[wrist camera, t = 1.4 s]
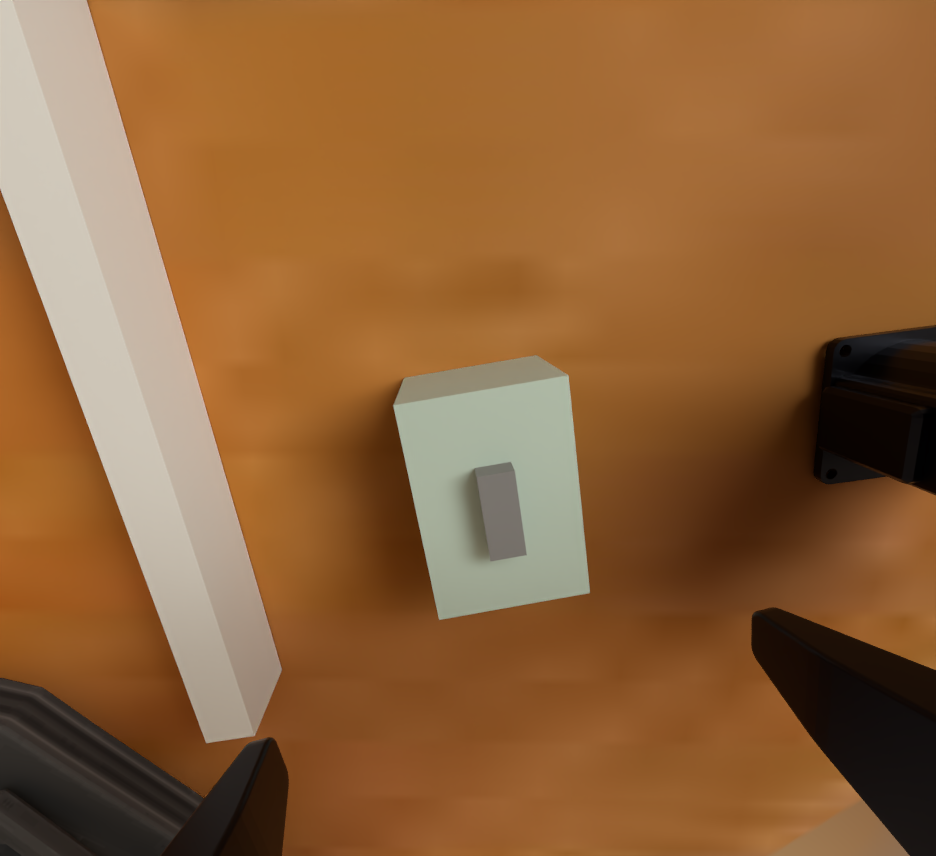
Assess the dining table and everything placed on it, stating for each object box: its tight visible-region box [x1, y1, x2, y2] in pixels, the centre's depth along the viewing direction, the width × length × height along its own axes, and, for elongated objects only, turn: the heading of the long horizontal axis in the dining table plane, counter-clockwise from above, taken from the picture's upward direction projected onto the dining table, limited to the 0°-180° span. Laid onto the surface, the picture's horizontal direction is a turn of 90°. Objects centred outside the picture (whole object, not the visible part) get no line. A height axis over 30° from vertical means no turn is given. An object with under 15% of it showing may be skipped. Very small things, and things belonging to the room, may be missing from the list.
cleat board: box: [0, 0, 282, 743], centre depth 16 cm, size 9×31×4 cm, turn 7°
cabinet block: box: [393, 355, 590, 620], centre depth 18 cm, size 6×8×6 cm
